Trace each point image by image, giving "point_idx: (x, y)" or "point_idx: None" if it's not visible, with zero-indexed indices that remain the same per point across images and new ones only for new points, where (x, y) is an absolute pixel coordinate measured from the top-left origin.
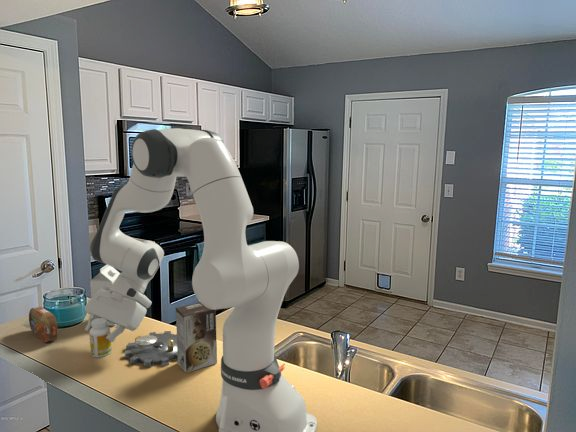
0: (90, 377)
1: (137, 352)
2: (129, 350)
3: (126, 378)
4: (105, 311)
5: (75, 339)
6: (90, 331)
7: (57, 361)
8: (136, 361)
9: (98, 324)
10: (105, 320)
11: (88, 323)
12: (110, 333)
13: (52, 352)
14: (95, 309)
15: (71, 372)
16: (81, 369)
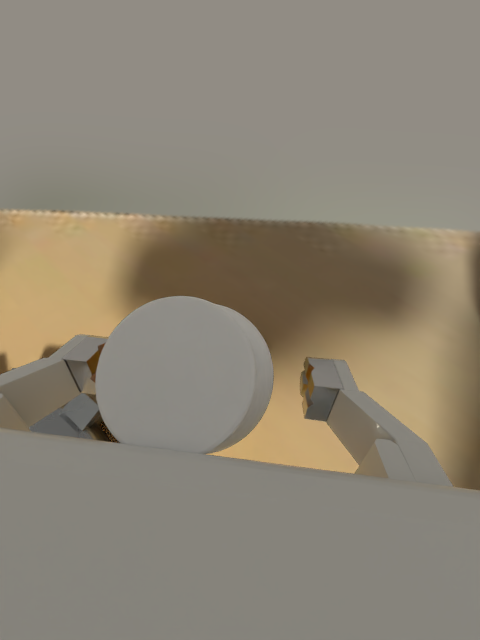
0: (128, 242)
1: (36, 425)
2: (81, 421)
3: (14, 291)
4: (161, 569)
5: (435, 406)
6: (224, 308)
7: (314, 251)
8: None
9: (127, 316)
10: (117, 417)
11: (356, 393)
12: (69, 359)
13: (397, 281)
14: (449, 573)
15: (208, 232)
16: (193, 258)
